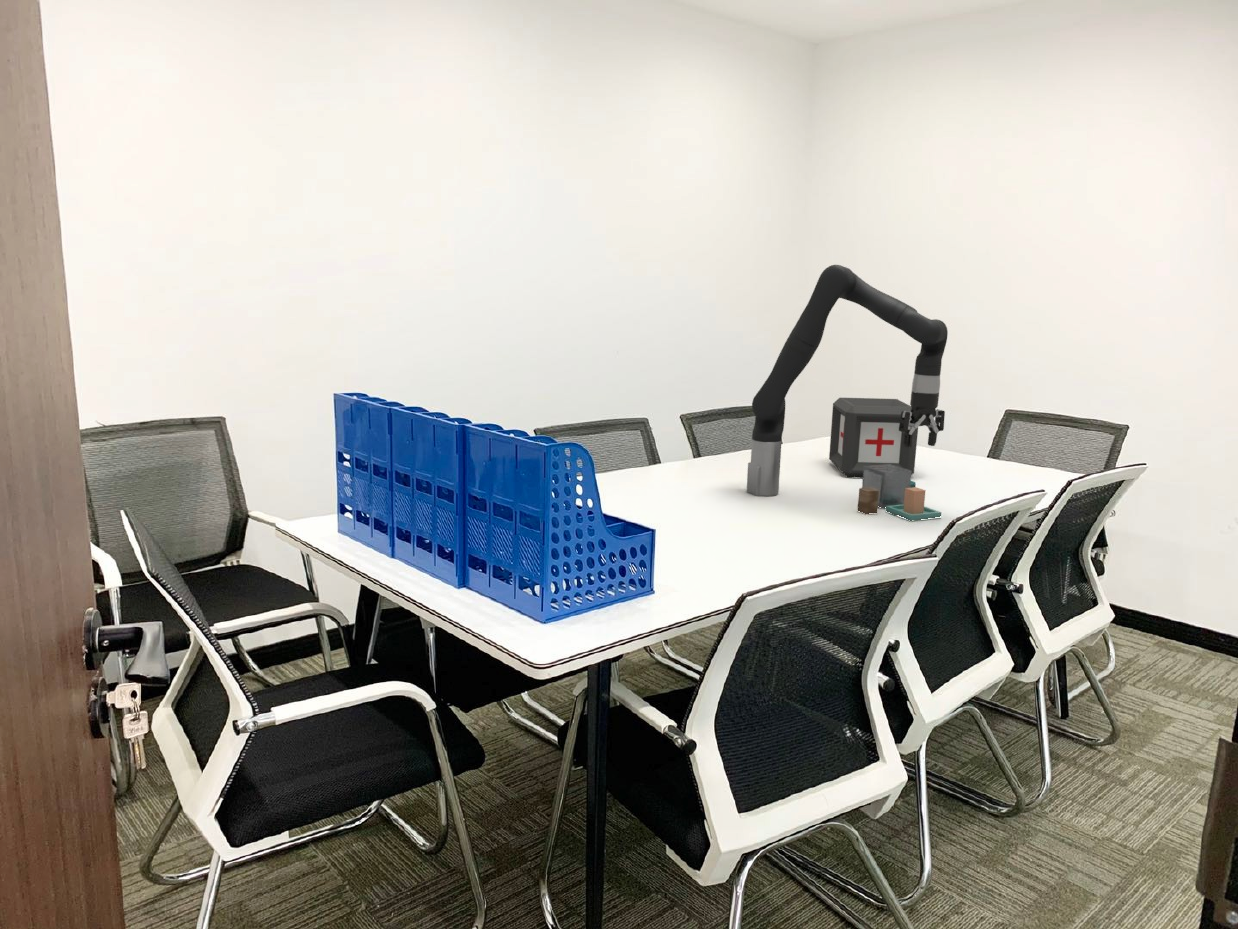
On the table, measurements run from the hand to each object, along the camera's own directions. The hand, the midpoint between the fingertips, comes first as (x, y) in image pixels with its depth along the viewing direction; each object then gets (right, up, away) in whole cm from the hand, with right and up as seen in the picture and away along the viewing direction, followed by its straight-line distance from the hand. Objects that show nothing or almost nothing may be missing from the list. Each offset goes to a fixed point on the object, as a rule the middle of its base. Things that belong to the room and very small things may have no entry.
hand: (919, 446), depth 261 cm
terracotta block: (0, -19, +4) cm, 20 cm away
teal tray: (0, -20, +4) cm, 21 cm away
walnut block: (-13, -19, +6) cm, 24 cm away
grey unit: (-5, -17, +17) cm, 25 cm away
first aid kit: (+3, -8, +62) cm, 63 cm away
